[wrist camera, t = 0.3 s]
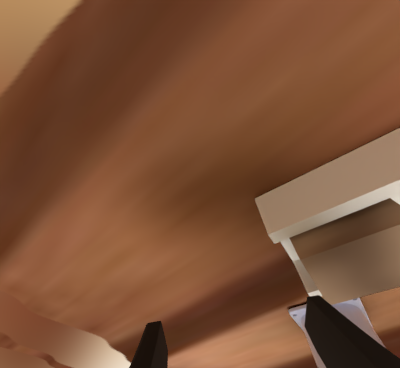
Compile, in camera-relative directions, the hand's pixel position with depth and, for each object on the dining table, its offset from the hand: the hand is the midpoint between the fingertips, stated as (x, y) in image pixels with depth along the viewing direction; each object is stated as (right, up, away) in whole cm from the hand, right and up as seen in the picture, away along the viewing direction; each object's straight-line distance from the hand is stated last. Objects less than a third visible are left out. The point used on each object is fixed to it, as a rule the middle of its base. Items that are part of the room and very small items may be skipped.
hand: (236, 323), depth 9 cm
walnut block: (+8, +4, +6) cm, 11 cm away
